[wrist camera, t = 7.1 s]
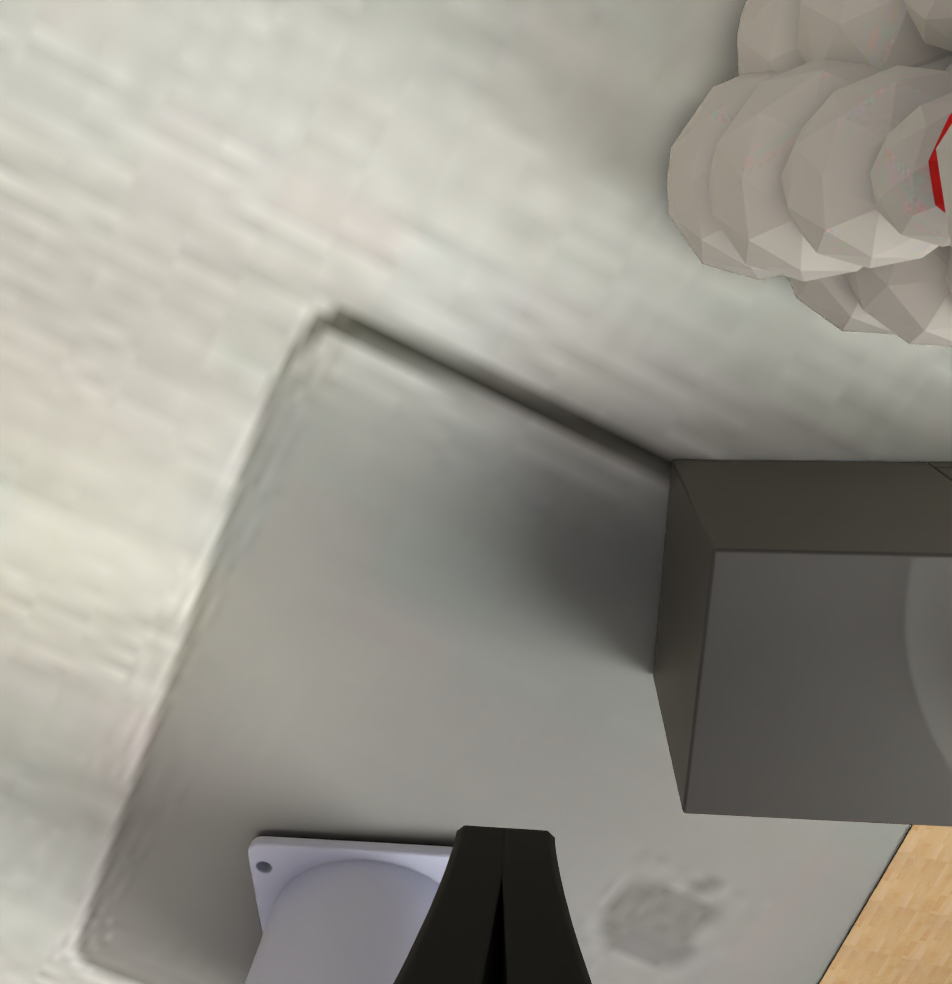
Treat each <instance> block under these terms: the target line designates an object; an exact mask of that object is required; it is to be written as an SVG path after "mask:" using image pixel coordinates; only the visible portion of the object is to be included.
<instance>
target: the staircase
mask: <svg viewBox="0 0 952 984" xmlns="http://www.w3.org/2000/svg"><path fill="white" fill-rule="evenodd" d="M820 984H952V827H948V826H929V825H913V826H912V828H911V830H910V831H909V833H908V835H907V836H906V838H905V840H904V841H903V843H902V845H901V847H900V848H899V850H898V852H897V853H896V855H895V857H894V858H893V860H892V862H891V863H890V865H889V867H888V869H887V870H886V872H885V874H884V875H883V877H882V879H881V880H880V882H879V884H878V885H877V887H876V889H875V891H874V892H873V894H872V896H871V897H870V899H869V901H868V902H867V904H866V906H865V907H864V909H863V911H862V913H861V914H860V916H859V918H858V919H857V921H856V923H855V924H854V926H853V928H852V929H851V931H850V933H849V935H848V936H847V938H846V940H845V941H844V943H843V945H842V946H841V948H840V950H839V952H838V953H837V955H836V957H835V958H834V960H833V962H832V963H831V965H830V967H829V968H828V970H827V972H826V974H825V975H824V977H823V979H822V980H821V982H820Z"/></svg>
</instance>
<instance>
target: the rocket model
mask: <svg viewBox="0 0 952 984" xmlns="http://www.w3.org/2000/svg"><path fill="white" fill-rule="evenodd" d="M737 47H738V74H739V76H737V77H735V78H733V79H730V80H728V81H725V82H723V83H721V84H718V85H716V86H714V87H712V88H711V90H710V91H709V93H708V94H707V96H706V97H705V99H704V100H703V101H702V103H701V104H700V106H699V107H698V109H697V110H696V112H695V113H694V115H693V116H692V118H691V119H690V120H689V122H688V123H687V125H686V126H685V128H684V129H683V131H682V132H681V134H680V135H679V137H678V138H677V140H676V141H675V142H674V144H673V145H672V147H671V153H670V161H669V169H668V176H667V193H668V213H669V216H670V217H671V218H672V220H673V221H674V223H675V224H676V226H677V227H678V229H679V230H680V232H681V233H682V235H683V236H684V238H685V239H686V240H687V242H688V243H689V245H690V246H691V248H692V249H693V251H694V252H695V254H696V255H697V257H698V258H699V259H700V261H701V262H702V264H705V265H709V266H712V267H716V268H719V269H723V270H726V271H730V272H733V273H737V274H740V275H744V276H747V277H751V278H754V279H758V280H762V279H766V278H771V277H775V276H780V275H783V276H787V277H788V278H789V281H790V283H791V286H792V288H793V291H794V293H795V295H796V298H797V299H799V300H800V301H801V302H803V303H804V304H806V305H807V306H808V307H810V308H811V309H812V310H814V311H815V312H817V313H818V314H819V315H821V316H822V317H824V318H825V319H826V320H828V321H829V322H830V323H832V324H833V325H835V326H836V327H837V328H839V329H840V330H841V331H850V332H865V333H880V334H895V335H898V336H899V337H900V338H902V339H903V340H904V341H906V342H907V343H909V344H919V345H932V346H945V347H952V0H747V2H746V4H745V6H744V9H743V11H742V13H741V18H740V24H739V30H738V36H737Z"/></svg>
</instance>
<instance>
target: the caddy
mask: <svg viewBox="0 0 952 984" xmlns="http://www.w3.org/2000/svg"><path fill="white" fill-rule="evenodd" d="M653 677H654V682H655V686H656V691H657V695H658V700H659V705H660V709H661V714H662V718H663V723H664V728H665V732H666V737H667V741H668V746H669V750H670V755H671V760H672V764H673V769H674V773H675V778H676V782H677V787H678V792H679V796H680V801H681V805H682V809H683V812H684V813H693V814H713V815H732V816H752V817H772V818H791V819H811V820H831V821H850V822H870V823H890V824H909V825H929V826H948V827H952V462H928V464H927V463H923V462H827V461H732V460H673V461H672V466H671V477H670V489H669V501H668V512H667V524H666V535H665V547H664V558H663V570H662V582H661V593H660V605H659V616H658V628H657V640H656V651H655V663H654V674H653Z"/></svg>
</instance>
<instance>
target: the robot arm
mask: <svg viewBox="0 0 952 984" xmlns="http://www.w3.org/2000/svg"><path fill="white" fill-rule="evenodd" d="M248 858H249V863H250V869H251V874H252V879H253V885H254V890H255V895H256V901H257V906H258V911H259V917H260V922H261V927H262V933H263V936H262V939H261V942H260V944H259V947H258V950H257V952H256V955H255V958H254V960H253V963H252V966H251V968H250V971H249V974H248V976H247V979H246V982H245V984H592V983H591V980H590V977H589V974H588V971H587V968H586V965H585V962H584V959H583V956H582V953H581V950H580V947H579V944H578V941H577V938H576V934H575V931H574V928H573V925H572V921H571V917H570V914H569V910H568V906H567V902H566V899H565V895H564V891H563V886H562V882H561V877H560V872H559V867H558V861H557V855H556V848H555V837H553V836H552V835H551V834H550V833H549V832H548V831H542V830H527V829H511V828H495V827H480V826H463V827H462V828H461V829H459V830H458V831H457V833H456V837H455V841H454V845H453V847H449V846H431V845H413V844H396V843H378V842H360V841H342V840H325V839H307V838H289V837H271V836H261V837H257V838H255V839H253V841H252V842H251V844H250V847H249V849H248Z"/></svg>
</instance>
